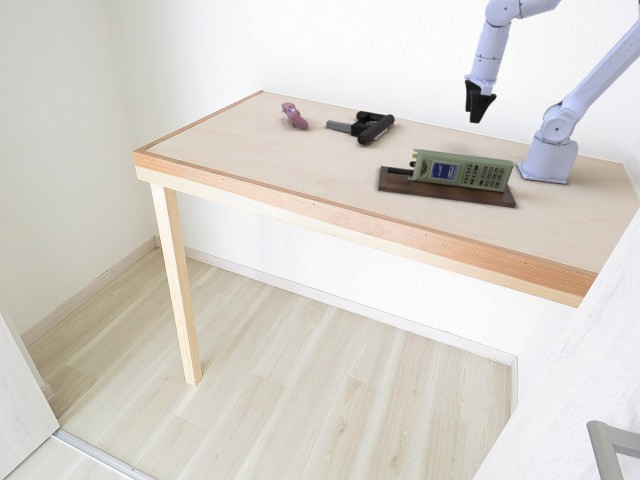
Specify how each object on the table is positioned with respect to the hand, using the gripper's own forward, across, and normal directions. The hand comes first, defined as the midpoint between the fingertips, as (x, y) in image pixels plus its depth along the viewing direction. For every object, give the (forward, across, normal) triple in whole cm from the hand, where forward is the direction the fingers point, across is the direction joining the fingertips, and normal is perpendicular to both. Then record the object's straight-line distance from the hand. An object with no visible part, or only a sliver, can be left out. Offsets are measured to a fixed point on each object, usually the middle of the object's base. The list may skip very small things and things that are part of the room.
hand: (471, 117), depth 99 cm
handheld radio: (+9, +18, -6) cm, 21 cm away
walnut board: (+10, +19, -6) cm, 22 cm away
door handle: (+10, -9, -27) cm, 30 cm away
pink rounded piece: (+10, -8, -45) cm, 47 cm away
